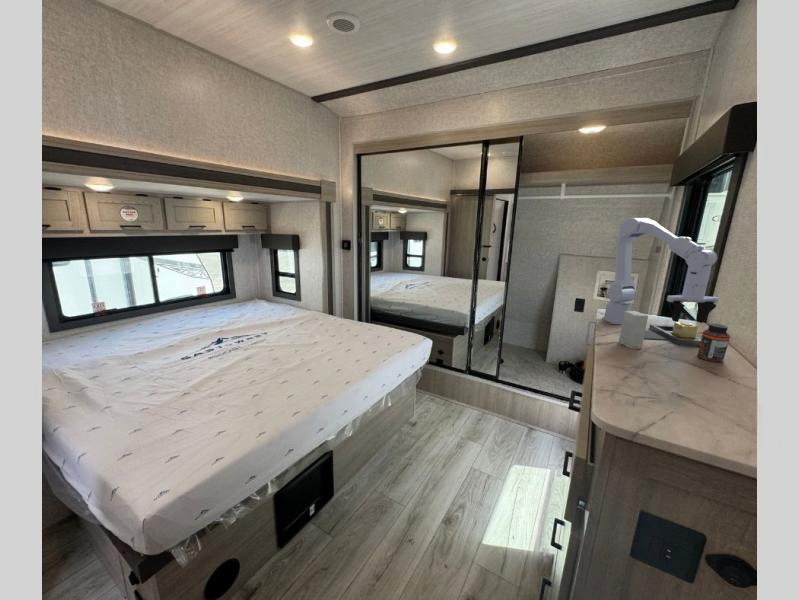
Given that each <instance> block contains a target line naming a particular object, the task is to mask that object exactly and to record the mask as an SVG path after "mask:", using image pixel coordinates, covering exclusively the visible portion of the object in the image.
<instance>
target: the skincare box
mask: <svg viewBox="0 0 799 600" xmlns="http://www.w3.org/2000/svg"><path fill="white" fill-rule="evenodd" d="M648 318H649V315H647V314H645V313H641V312H639V311H635V310H630V311H624V316H623V322H622V324H621V328H620V334H619V338H618V343H619V344H622V345H623V346H625V347H626V348H629V349H633V350H634V349H638V350H639V349H641V350H642V349H643V344H644V341H645V339H644V335H645V331H647V323H648Z"/></svg>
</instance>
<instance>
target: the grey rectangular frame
mask: <svg viewBox="0 0 799 600" xmlns="http://www.w3.org/2000/svg"><path fill="white" fill-rule="evenodd" d="M673 328H674V324H673V325H671V324H649V328H648V329H649V331H653V332H655V333H657V334H658V335H660V336H662V337H664V338H666V339H667V341H670V342H672V343H673V344H676V345H677V346H686V347H687V346H689V347H690V346H692V347H699V346H700V342H701V338H699V337H698V336H696V337H695V339H684V338H678V337H676V336H675V335H673V334H672V332H673Z"/></svg>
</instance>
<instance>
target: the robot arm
mask: <svg viewBox="0 0 799 600" xmlns="http://www.w3.org/2000/svg"><path fill="white" fill-rule="evenodd" d="M646 234H648V235H651V236H653V237H655V238H657V239H659V240H660V241H662V242H664V243H665V244H667V245H668V248H669V249H668V250H670V251H671V252H672V253H674V254H676V255H677V256H679V257H680V258H682V259H684V260H685V263H686V264H687V266H688V267H687V271H686V275H685V279H684V284H683V289H682V293H681V294H676V295H675V294H674V295H667V297H666V302H667V304H668V306H669V309H670V313H671V320H672V321H673V322H674V323H675V322H680V318H681V314H682V312H683V309H684V307H685V304H683V303H697V313H696V317H695V322H697V323H701V324H703V323H704V321H705V319H706V318H707V317H708V315H709V314H710V313H711V312H712V311H713V310H714V309H716V308H717V304H719V303H718V302H719V297H716V296H708V295H706V291H707V287H708V282H709V279H710V276H711V270H712V266H713V265H714V264H715V263H716V262H717V261H718V254H717V253H716V252H715V251H714V250H713V249H709V248H706V249H705V246H704V245H701V244H700V245H699V244H698V243H696V242H695V241H692V238H691V237H689V236H677V235H675V234H673V233H672V232H670V231H669V230H668V229H666V228H665V227H663V226H662V225H661V224H659V223H658V222H657V221H656V220H652V219H651V218H649V217H628V218H626V219H625V220H624V221H623V222H622V223H621V224H620V225H619V231H618V233H617V235H616V238H615V260H614V261H615V264H614V265H615V271H614V281H613V282H612V283H611V284H609V285H610V288H609V291H608V293H607V296H608V298H609V301H608V302H607V303H606V305H605V306H606V307H605V311H604V316H602V319H603V320H605V321H606V322H607V323H609V324H611V325H622V322H623V316H624V311H631V307H632V303H633V301H634V300H635V299H636V298H637V296H638V292H637V289H636V284H635V282H634V281H633V280H632V255H633V254H632V250H633V247H632V246H633V245H632V243H633V242H634V241H635V240H636V239H637V238H639V237H642V236H643V235H646ZM705 295H706V296H705Z"/></svg>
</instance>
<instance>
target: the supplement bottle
mask: <svg viewBox="0 0 799 600" xmlns="http://www.w3.org/2000/svg"><path fill="white" fill-rule="evenodd" d="M700 339H701V342H700V346H698V351H697V356H698V358H700V359H702V360H705V361H709V362H711V363H712V362H713V363H721V362H724V360H725V356H726V352H727V349H728V347H729V342H730V339H731V335H730V333H728V326H727V325H725V324H720V323H709V325H708V328H707V329H705V330H703V331H702V335H701V338H700Z"/></svg>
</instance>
